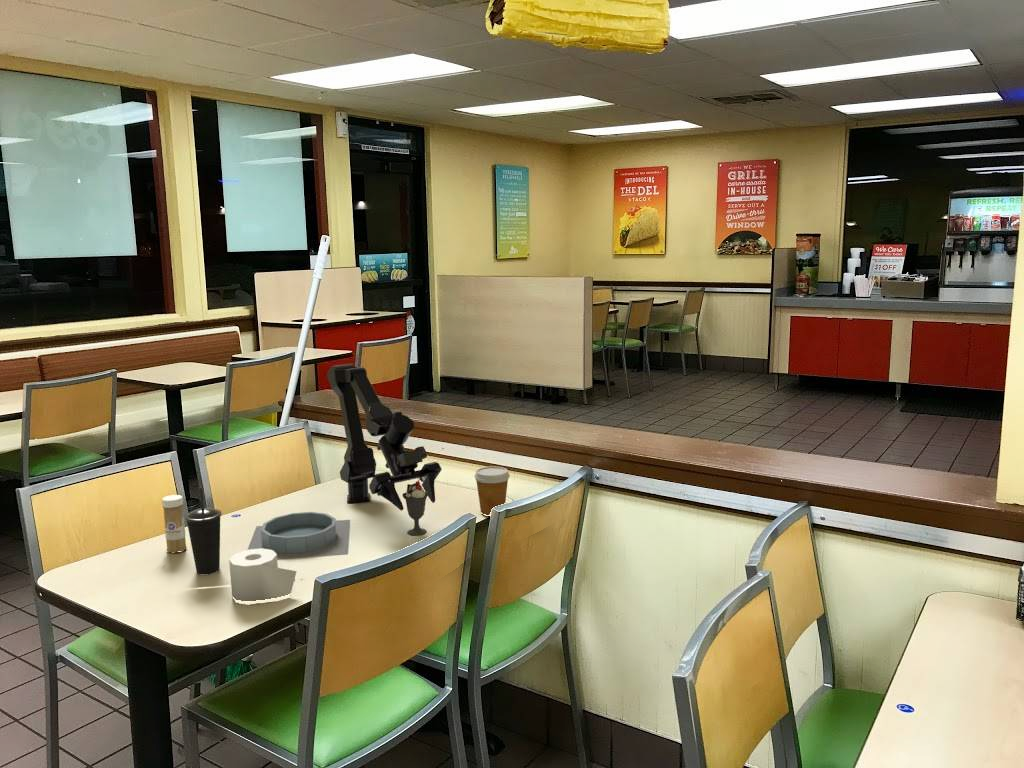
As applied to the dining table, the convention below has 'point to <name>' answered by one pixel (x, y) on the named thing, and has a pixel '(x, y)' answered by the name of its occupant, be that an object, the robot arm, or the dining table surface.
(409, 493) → the sundae
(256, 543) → the mat
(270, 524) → the bowl
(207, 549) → the drinking cup
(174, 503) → the sprinkles bottle
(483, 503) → the disposable coffee cup
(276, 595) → the toilet tissue
